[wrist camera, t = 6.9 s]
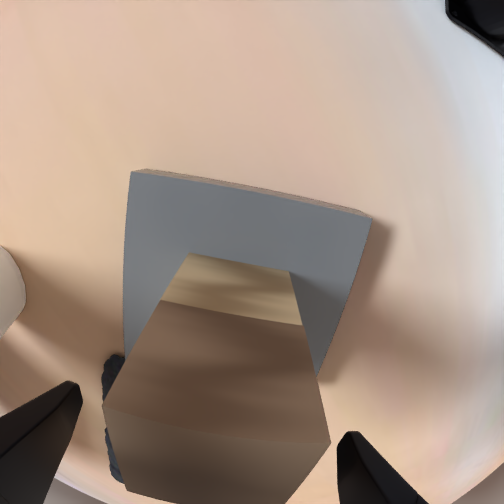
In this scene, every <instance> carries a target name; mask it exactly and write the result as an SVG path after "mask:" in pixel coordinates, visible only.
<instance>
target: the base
mask: <svg viewBox="0 0 504 504" xmlns="http://www.w3.org/2000/svg"><path fill="white" fill-rule="evenodd" d="M371 223H372V218H371V217H369V216H367V215H366V214H364V213H363V212H361V211H359V210H355V209H351V208H347V207H343V206H339V205H335V204H331V203H327V202H322V201H318V200H314V199H309V198H305V197H300V196H296V195H291V194H287V193H282V192H277V191H272V190H268V189H263V188H258V187H253V186H247V185H242V184H237V183H231V182H226V181H220V180H215V179H209V178H203V177H197V176H191V175H185V174H178V173H172V172H165V171H158V170H151V169H141V170H136V171H131V175H130V183H129V192H128V202H127V213H126V226H125V241H124V264H123V327H124V349H125V361H126V359H127V357H128V355H129V354H130V352H131V350H132V348H133V346H134V345H135V343H136V341H137V339H138V338H139V336H140V334H141V332H142V331H143V329H144V327H145V325H146V324H147V322H148V320H149V318H150V317H151V315H152V313H153V312H154V310H155V308H156V306H157V305H158V303H159V301H160V299H161V297H162V296H163V294H164V292H165V291H166V289H167V287H168V286H169V284H170V282H171V281H172V279H173V277H174V276H175V274H176V273H177V271H178V269H179V268H180V266H181V264H182V263H183V261H184V260H185V258H186V256H187V255H188V253H189V252H190V253H195V254H200V255H205V256H210V257H216V258H221V259H226V260H231V261H236V262H242V263H247V264H252V265H258V266H263V267H268V268H274V269H279V270H284V271H289V274H290V278H291V282H292V286H293V289H294V293H295V297H296V301H297V305H298V309H299V313H300V317H301V321H302V325H303V326H304V329H305V333H306V337H307V341H308V345H309V349H310V353H311V357H312V361H313V365H314V370H315V374H316V377H317V374H318V372H319V370H320V367H321V365H322V363H323V360H324V358H325V356H326V353H327V351H328V348H329V346H330V343H331V341H332V338H333V336H334V333H335V331H336V328H337V325H338V323H339V320H340V317H341V315H342V312H343V309H344V307H345V304H346V301H347V298H348V295H349V293H350V290H351V287H352V284H353V281H354V278H355V275H356V272H357V269H358V266H359V263H360V259H361V256H362V253H363V250H364V247H365V243H366V240H367V237H368V233H369V230H370V226H371Z"/></svg>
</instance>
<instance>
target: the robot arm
mask: <svg viewBox="0 0 504 504" xmlns="http://www.w3.org/2000/svg"><path fill="white" fill-rule="evenodd" d="M445 8H446V14H447V16H448V17H449V18H450V19H451V20H453V21H454V22H456V23H458V24H459V25H461V26H462V27H464V28H466V29H467V30H469V31H470V32H472V33H473V34H475V35H476V36H477V37H479V38H480V39H482V40H483V41H485V42H486V43H487V44H489V45H490V46H491V47H493V48H494V49H495V50H497V51H498V52H499V53H500V54H502V55H503V56H504V0H445ZM452 13H453V14H454V15H453V14H452ZM82 404H83V399H82V395H81V391H80V387H79V385H78V384H77V383H74V382H72V381H65V382H63V383H62V384H60V385H58V386H56V387H54V388H53V389H51V390H49V391H47V392H46V393H44V394H42V395H40V396H38V397H37V398H35V399H33V400H31V401H29V402H27V403H26V404H24V405H22V406H20V407H18V408H17V409H15V410H13V411H11V412H9V413H7V414H6V415H4V416H2V417H0V504H43V503H44V500H45V498H46V495H47V492H48V490H49V488H50V485H51V483H52V481H53V478H54V476H55V474H56V471H57V469H58V467H59V464H60V462H61V460H62V458H63V455H64V453H65V451H66V449H67V447H68V445H69V442H70V440H71V437H72V434H73V431H74V428H75V425H76V422H77V419H78V416H79V413H80V410H81V407H82ZM337 484H338V493H339V500H340V504H429V503H428V502H426V501H425V500H424V499H423V498H422V497H421V496H420V495H419V494H418V493H417V492H416V491H415V490H414V489H413V488H412V487H411V486H410V485H409V484H408V483H407V482H406V481H405V480H404V479H403V478H402V477H401V475H400V474H399V473H398V472H397V471H396V470H395V469H394V468H393V467H392V466H391V465H390V464H389V463H388V462H387V461H386V460H385V459H384V458H383V457H382V456H381V455H380V454H379V453H378V451H377V450H376V449H375V448H374V447H373V446H372V445H371V444H370V443H369V442H368V441H367V440H366V439H365V438H364V436H363V435H362V434H361V433H360V432H358V431H348V432H346V433H345V435H344V436H343V438H342V439H341V441H340V442H339V443H338V446H337Z"/></svg>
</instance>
